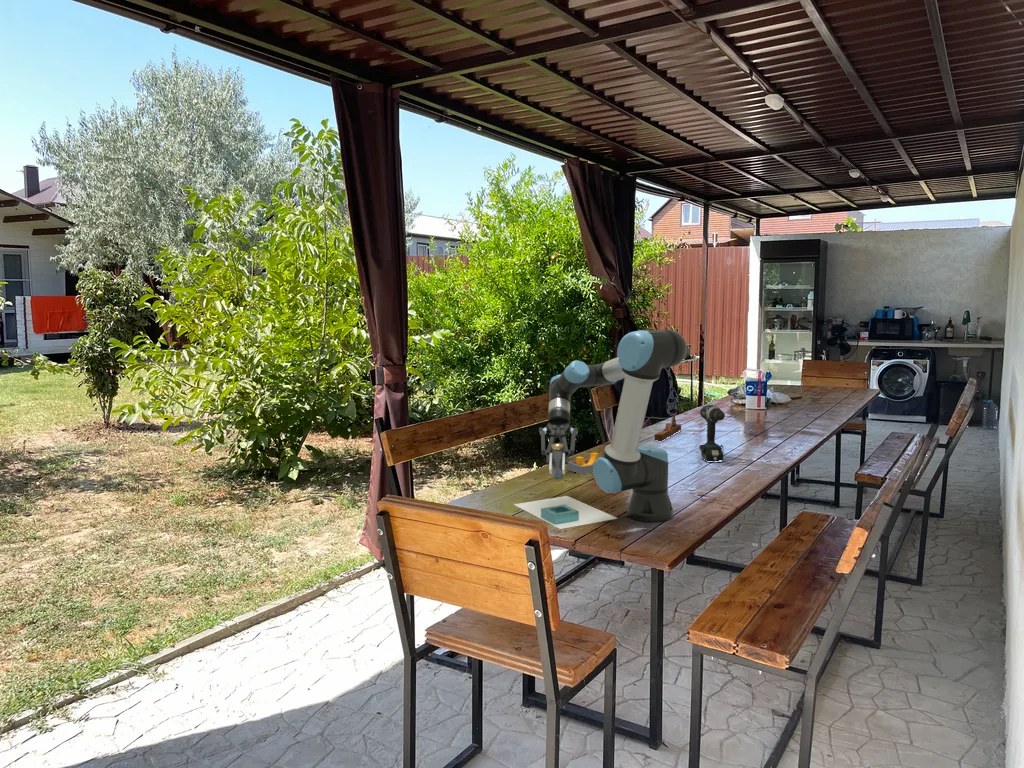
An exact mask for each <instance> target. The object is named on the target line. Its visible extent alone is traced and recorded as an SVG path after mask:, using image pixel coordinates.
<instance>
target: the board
mask: <svg viewBox="0 0 1024 768" xmlns="http://www.w3.org/2000/svg"><path fill="white" fill-rule="evenodd" d="M513 505H514V506H515V507H516V508H517V507H518V509H519V508H520V509H522V510H523V511H525V512H527V513H530V514H531V515H532V516H534V517H537V518H539V519H540V520H542V521H544V522H546V523H548V524H550V525H551V526H554V527H555V528H557V529H558V530H559V529H560V530H562V529H568V528H572V527H579V526H584V525H589V524H595V523H596V524H597V523H602V522H606V521H612V520H613V521H614V520H617V519H619V518H618V517H616V516H613V515H612V514H610V513H607V512H604V511H603V510H600V509H598V508H595V507H594V506H592V505H589V504H586V503H584V502H582V501H579V500H578V499H575V498H573V497H570V496H568V495H562V496H559V497H552V498H546V499H540V500H539V499H538V500H533V501H527V502H525V501H524V502H519V503H514V504H513ZM559 505H566V506H569V507H571V508H573V509H575V510H577V511H579V520H577V521H571V522H566V523H560V524H553V523H551V522H549V521H547V520H545V519H544V518H542V517H541V508H547V507H553V506H559Z"/></svg>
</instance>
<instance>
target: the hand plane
mask: <svg viewBox="0 0 1024 768" xmlns="http://www.w3.org/2000/svg"><path fill="white" fill-rule="evenodd" d="M671 417H672V418H671V421H670V423H666V424H665V427H664V429H662V430H661V431H658V432H657V433H654V441H655V440H658V441H662V440H664V439H666V438H667V437H669V436H671V435H673V434H674V433H676V432H678V431H679V430H681V431H682V423H677V420H676V415H675V414H673V415H672V416H671ZM666 440H667V439H666Z"/></svg>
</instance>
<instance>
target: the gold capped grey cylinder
mask: <svg viewBox="0 0 1024 768" xmlns="http://www.w3.org/2000/svg"><path fill="white" fill-rule="evenodd" d="M551 449H552V452H551V453H552V474H551V476H552V479H553V480H563V479H564V474H562V457H563V453H564V446H563V442H562V443H560V442H556V443H555V442H554V443H553V444H551Z"/></svg>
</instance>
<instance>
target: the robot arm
mask: <svg viewBox="0 0 1024 768" xmlns="http://www.w3.org/2000/svg"><path fill="white" fill-rule="evenodd" d="M616 351H617V352H616V356H617V357H614V358H612V359H609V360H607V361H604V362H602V363H599V364H587V363H585V362H584V361H580V360H573V361H571V363H570V364H569V365H567V366H566V367H565V369H564V371H563V372H562V373H560V374H556V375H555V376H552V377H551V379H550V381H549V388H548V389H549V390H548V391H549V393H548V394H549V395H548V397H549V399H548V414H547V415H548V417H547V418H548V419H547V425H546V426H545V427H544V428H543V427H539V428H538V430H539V435H540V443H541V445H540V446H541V447H540V449H541V455H542V456H546V457H545V458H546V459H545V463H546V465H549V466H548V468H549V469H548V472H549V475H552V449H551V444H553V443H555V441H556V439H558V438H560V439H561V441H562V444H563V457H562V474H563V475H565V474H566V465H567V464H568V462H570V461H569V459H570V456H575V449H576V448H575V447H576V440H577V439H576V438H577V436H578V434H579V432H578V431H579V430H578V427H574V428H573V427H572V426H571V425H570V424H571V422H570V421H571V415H570V414H571V397H572V396H573V394H574V393H575V392H576V391H577V390H578V389H579V388H587V387H596V386H609V385H614V384H616V383H617V382H618V381H619V380H622V379H623V385H622V391H621V394H620V399H619V404H618V409H617V413H616V418H615V423H614V428H613V431H612V437H611V441H610V443H609V444H607V445H606V446H605V447H604V450H603V456H600V457H599V458H598V459H597V460H595V462H594V465H593V473H592V474H593V477H594V480H595V482H596V484H597V486H598V487H599V488H600V489H601V490H602V491H604V492H605V493H608V494H611V493H613V494H614V493H620V492H624V491H629V490H631V491H632V493H631V495H630V499H629V502H628V506H627V508H626V509H627V512H626V513H627V514H628V515H627V517H629V518H630V519H633V520H635V521H640V522H651V523H652V522H653V523H654V522H664V521H668V520H671V519H672V518H673V517H674V510H673V505H672V502H671V499H670V496H669V463H670V462H669V457H668V455H669V453H668V452H667V450H665V449H663V448H659V447H653V446H648V445H647V446H646V445H640V440H641V435H642V432H643V431H642V430H643V427H644V422H645V418H646V413H647V410H648V405H649V400H650V397H651V392H652V387H653V384H654V382H656V381H657V380H659V378H660V377H661V376H660V375H661V371H662V369H666V368H671V367H675V366H677V365H679V364H681V363H682V362H683V360H684V359H685V357H686V355H687V352H688V345H687V341H686V339H685V337H684V336H683V335H682V334H680V333H679V332H678V331H675V330H673V329H653V330H651V329H650V330H648V329H647V330H645V329H643V330H642V329H639V330H635V331H631V332H628V333H627V334H625V335H624V336H623V337H622V338H621V340H620V341H619V343H618V346H617V350H616ZM547 433H548V434H549V435H550V437H549V440H548V444H547V448H546V434H547ZM569 433H570V434H571V440H570V447H568V443H567V442H568V441H567V438H566V436H567V435H568V434H569ZM569 448H570V449H569Z"/></svg>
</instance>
